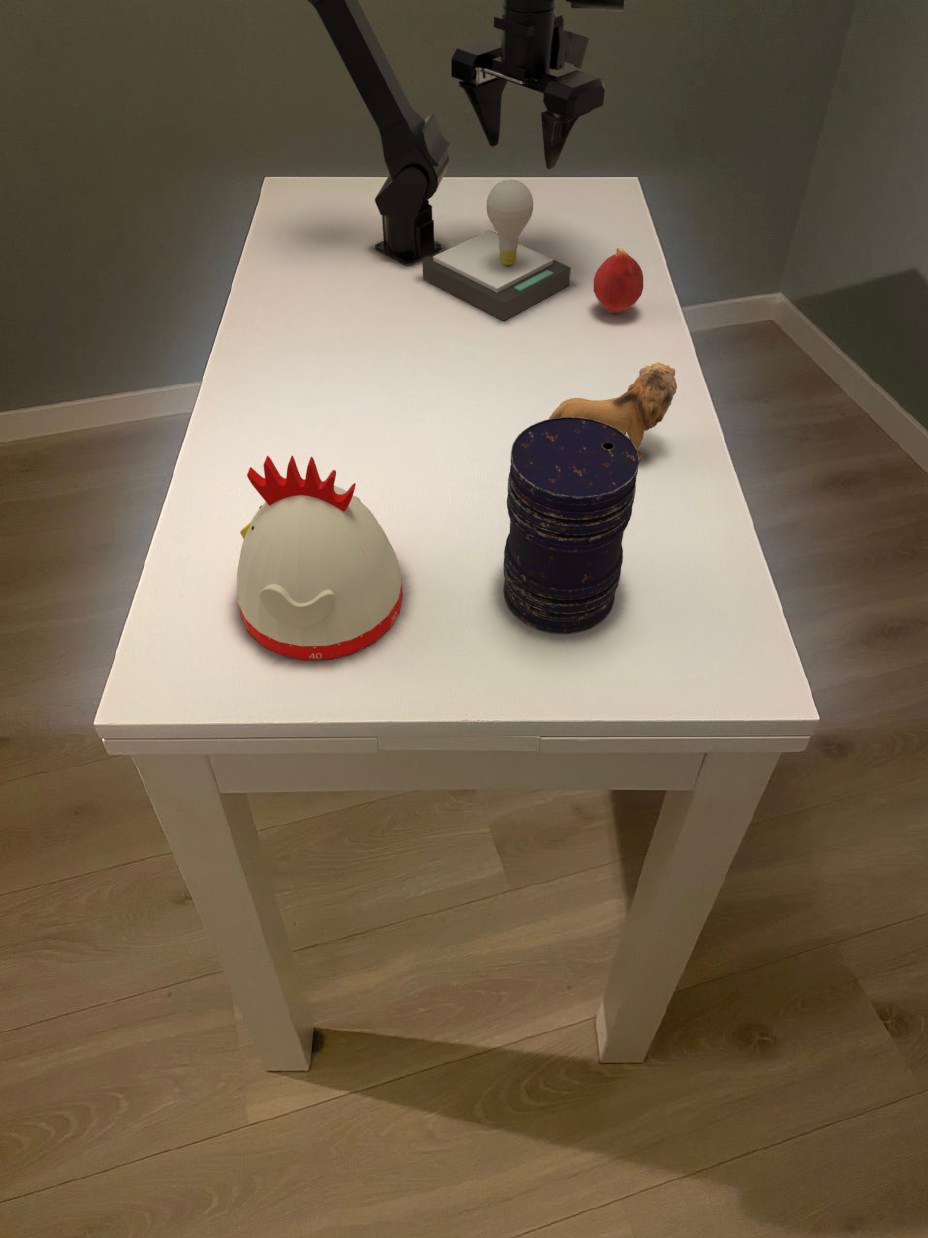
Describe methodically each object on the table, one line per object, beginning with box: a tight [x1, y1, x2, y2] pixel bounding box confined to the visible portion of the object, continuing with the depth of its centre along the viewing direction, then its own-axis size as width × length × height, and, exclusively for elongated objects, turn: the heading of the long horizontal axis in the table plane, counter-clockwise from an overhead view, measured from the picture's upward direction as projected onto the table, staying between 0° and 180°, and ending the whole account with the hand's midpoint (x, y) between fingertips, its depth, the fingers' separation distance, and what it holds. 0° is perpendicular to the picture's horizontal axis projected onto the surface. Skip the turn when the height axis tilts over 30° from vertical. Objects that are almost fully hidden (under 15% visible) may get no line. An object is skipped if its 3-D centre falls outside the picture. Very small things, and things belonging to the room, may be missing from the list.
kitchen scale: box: [422, 229, 572, 322], centre depth 116 cm, size 14×12×3 cm
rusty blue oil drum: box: [502, 417, 640, 635], centre depth 76 cm, size 10×10×15 cm
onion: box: [593, 247, 644, 314], centre depth 109 cm, size 6×6×8 cm
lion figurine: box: [548, 362, 678, 462], centre depth 91 cm, size 15×5×9 cm, turn 110°
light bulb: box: [485, 179, 534, 266], centre depth 110 cm, size 5×6×10 cm
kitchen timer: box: [236, 455, 404, 661], centre depth 75 cm, size 14×14×15 cm
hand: (521, 156), depth 111 cm, fingers open, 9 cm apart
